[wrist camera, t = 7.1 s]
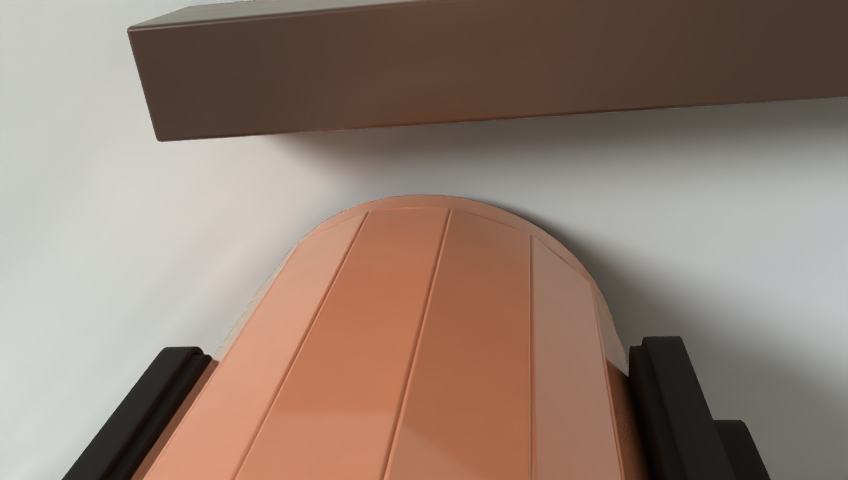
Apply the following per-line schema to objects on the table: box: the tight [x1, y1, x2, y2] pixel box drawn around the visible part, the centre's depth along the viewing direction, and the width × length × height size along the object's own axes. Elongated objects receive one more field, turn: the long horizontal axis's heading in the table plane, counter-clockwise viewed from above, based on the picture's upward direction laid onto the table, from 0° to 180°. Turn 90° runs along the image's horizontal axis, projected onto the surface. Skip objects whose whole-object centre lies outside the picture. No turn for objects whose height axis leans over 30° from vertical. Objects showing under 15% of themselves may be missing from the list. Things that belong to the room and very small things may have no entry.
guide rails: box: [127, 0, 848, 142], centre depth 12 cm, size 16×13×2 cm
